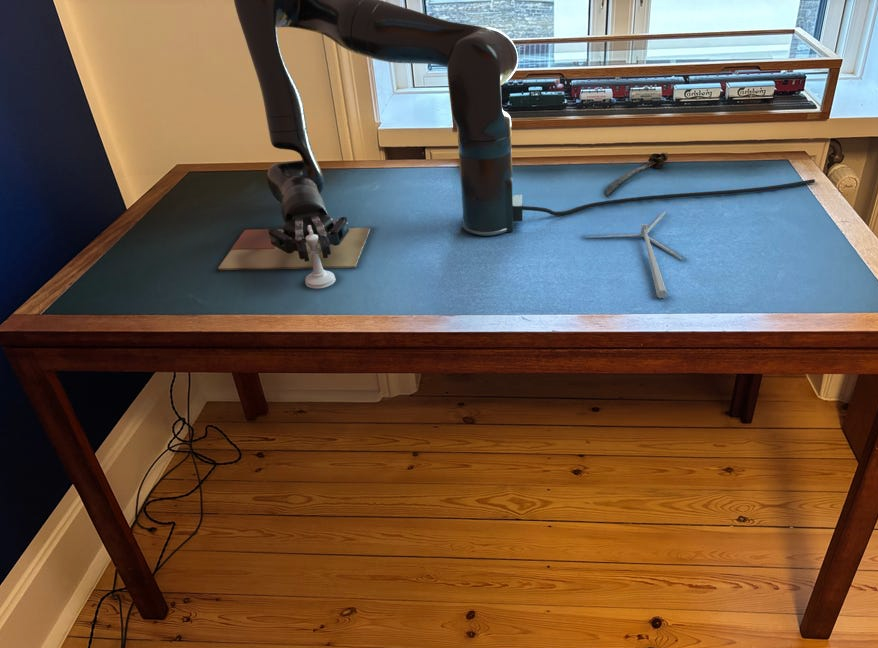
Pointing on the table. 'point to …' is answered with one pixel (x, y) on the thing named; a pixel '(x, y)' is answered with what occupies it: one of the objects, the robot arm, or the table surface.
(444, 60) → the robot arm
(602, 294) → the table surface
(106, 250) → the table surface
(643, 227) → the wind turbine model
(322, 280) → the chess piece
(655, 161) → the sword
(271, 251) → the corner board
